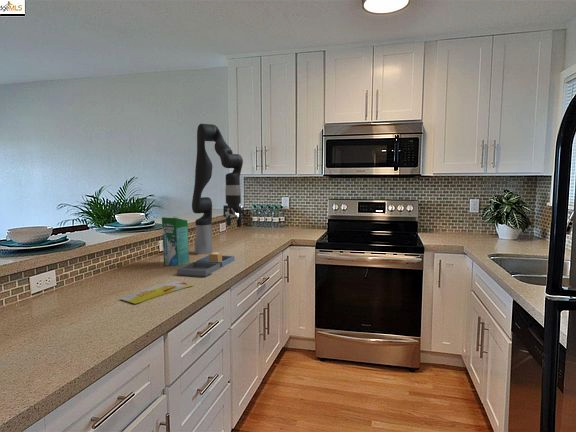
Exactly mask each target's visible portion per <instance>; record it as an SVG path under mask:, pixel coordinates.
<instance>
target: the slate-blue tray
mask: <svg viewBox="0 0 576 432" xmlns="http://www.w3.org/2000/svg"><path fill="white" fill-rule="evenodd" d="M195 262H205V263H220V268H224V267H226V266H227V265H230V264H231V263H233V262H235V255H222V262H215V261H209V254H207V256H204V257H202V258H199V259H197V260H195Z"/></svg>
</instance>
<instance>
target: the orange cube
mask: <svg viewBox="0 0 576 432" xmlns="http://www.w3.org/2000/svg"><path fill="white" fill-rule="evenodd" d="M208 255H209V261H215V262H222V256H223V252H215V251H212V253H211V254H208Z"/></svg>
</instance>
